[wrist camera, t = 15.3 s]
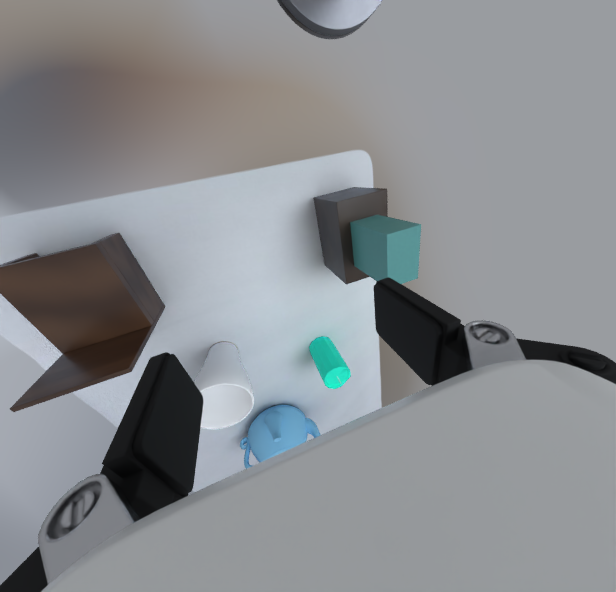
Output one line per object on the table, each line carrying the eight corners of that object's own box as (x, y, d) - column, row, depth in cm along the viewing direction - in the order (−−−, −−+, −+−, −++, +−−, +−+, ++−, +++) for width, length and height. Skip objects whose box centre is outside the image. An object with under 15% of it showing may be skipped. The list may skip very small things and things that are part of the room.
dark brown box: (313, 197, 39) (336, 202, 31) (354, 187, 40) (387, 188, 32) (324, 265, 46) (346, 284, 37) (359, 254, 47) (388, 270, 38)
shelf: (26, 255, 31) (-132, 312, 17) (119, 232, 33) (41, 268, 19) (91, 329, 38) (13, 412, 24) (165, 306, 40) (131, 371, 26)
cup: (255, 360, 51) (263, 412, 39) (210, 378, 49) (204, 438, 38) (237, 325, 46) (240, 373, 34) (186, 344, 44) (170, 401, 33)
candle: (313, 359, 56) (332, 399, 46) (305, 343, 53) (323, 382, 43) (334, 348, 57) (357, 385, 47) (327, 332, 54) (350, 367, 44)
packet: (350, 222, 32) (386, 234, 25) (377, 214, 33) (421, 224, 26) (354, 266, 36) (387, 288, 28) (378, 258, 37) (418, 278, 29)
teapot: (319, 403, 65) (336, 446, 54) (285, 445, 69) (295, 492, 58) (267, 392, 57) (276, 439, 46) (233, 440, 61) (233, 494, 50)
